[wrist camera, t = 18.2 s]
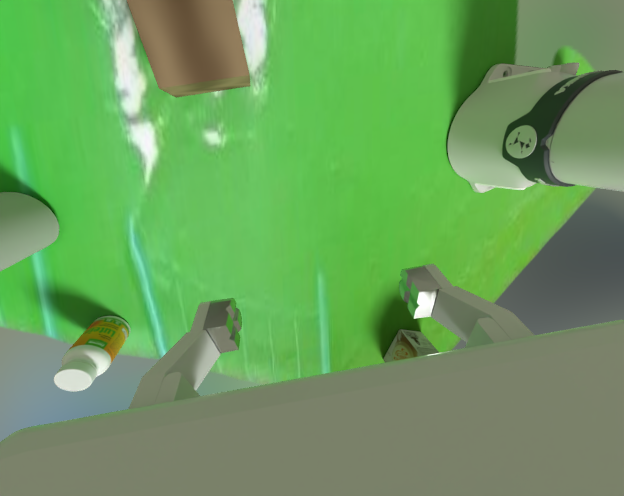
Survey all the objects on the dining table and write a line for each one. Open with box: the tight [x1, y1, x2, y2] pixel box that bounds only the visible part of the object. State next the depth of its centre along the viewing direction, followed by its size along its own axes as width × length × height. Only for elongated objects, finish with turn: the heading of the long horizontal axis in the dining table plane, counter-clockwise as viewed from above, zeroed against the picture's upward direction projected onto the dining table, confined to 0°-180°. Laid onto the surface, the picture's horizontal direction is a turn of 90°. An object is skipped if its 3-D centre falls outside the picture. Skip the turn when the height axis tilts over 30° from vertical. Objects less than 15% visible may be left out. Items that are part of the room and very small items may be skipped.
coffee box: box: [383, 329, 439, 363], centre depth 49 cm, size 9×6×16 cm
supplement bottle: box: [54, 316, 130, 391], centre depth 36 cm, size 5×5×10 cm
